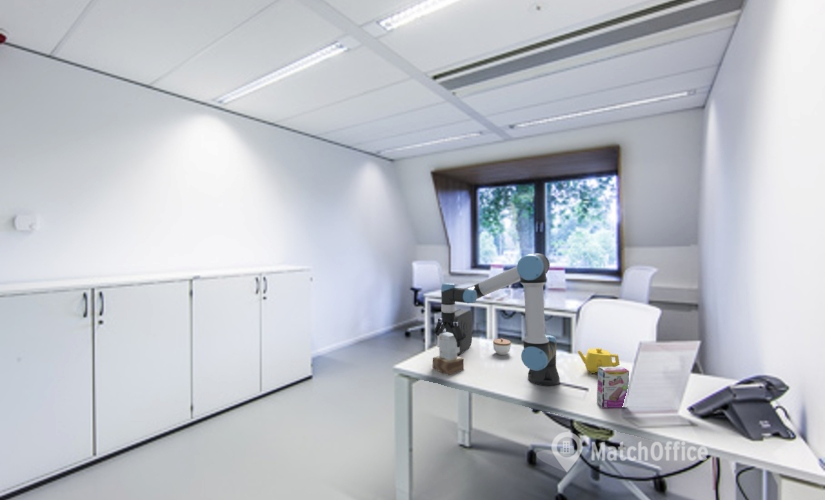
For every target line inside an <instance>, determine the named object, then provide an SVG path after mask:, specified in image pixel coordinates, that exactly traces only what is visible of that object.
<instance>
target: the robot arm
mask: <svg viewBox="0 0 825 500" xmlns="http://www.w3.org/2000/svg"><path fill="white" fill-rule="evenodd" d="M550 266H551V265H550V260H549V259H548V257H547V256H546V255H544V254H543V253H538V252H534V253H528V254H526V255H523V256H522V257H521V258H520V259H519V260H518V262H517V264H516V266H514V267H512V268H510V269H508V270H505V271H503V272H500V273H498V274H497V275H494V276H491V277H490V278H487V279H485V280H483V281H480V282H478V283H476V284H474V285H471V286H468V287H456V284H455V283H452V282H445V283H442V284H441V289H440V293H441V295H440V296H441V297H440V298H441V299H440V301H441V304H440V305H441V308H440V310H441V313H440V314H441V316H440V317H439V318H438V319H437V323H436V326H435V328H434V331H433V333H434V334H435V335H436V341H437V342H436V343H437V347H436V348H439V334H441V333H444V331H445V330H446V328H447V329H450V330H451V331H452V333H453V335H454V337H455V339H456V341H455V353H459V352H460V341H462V340H464V339H463V336H462V333H461V330H460V327H459V322H454V319H455V312H454V311H456V303H462V304H463V303H465V304H475V302H476V301H477V300H479V299H480V298H482V297H484V296H487V295H489V294H492V293H494V292H496V291H498V290H500V289H503V288H506V287H509V286H511V285H513V284H516V283H518V282H519V283H520V284H521V285H522V286H523V292H524V294H523V295H524V314H525V315H524V319H525V334H526V335H525V337H524V338H523V339H522V341H523V345H522V346H523V349H522V350H521V351H522V352H521V355H520V356H521V357H520V359H521V361H522V363H523V365H524V366H525V367H526V368H527V369H528V372H527V380H528V381H530V382H531V383H533V384H536V385H539V386H548V387H552V386H554V387H555V386H558V385H559V384H560V381H561V380H560V379H561V377H560V375H559V372H558V369H557V344H558V343H557V338H556V337H555V336H554V335H550V334H546V320H545V318H546V317H545V303H544V302H545V301H544V300H545V299H544V286H545V285H546V283H547V274H548V271H549V270H550ZM452 327H453V328H452Z"/></svg>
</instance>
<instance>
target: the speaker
mask: <svg viewBox="0 0 825 500" xmlns="http://www.w3.org/2000/svg"><path fill="white" fill-rule="evenodd" d="M454 312H455V319H454V322H459V327H460V330H461V333H462V336H463V339H464V340H462V341H460V352H459V353H457V356H460V355H462V354H463V353H465V352H466V351H468V350H469V349H470V348H471V345H472V344H473V343H472V341H473V313H472V311H471V310H469V309H468V310H466V309H465V310H463V309H457V310H456V309H455V311H454ZM452 328H453V327H452ZM445 332H449V333H452V331H451V330H450V329H447V328H445ZM452 334H453V333H452Z"/></svg>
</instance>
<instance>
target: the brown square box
mask: <svg viewBox="0 0 825 500" xmlns="http://www.w3.org/2000/svg"><path fill="white" fill-rule="evenodd" d="M464 365H465V359H464V358H463V357H461V356H459V355H457V358H456V359H453V360H447V359H444V358H441V357H439V355H438V356H434V357H432V369H433V370H435V371H438V372H440V373H443V374H445V375H449V376H450V375H452V374H455V373H458V372H461V371H463V370H464V369H465V367H464Z"/></svg>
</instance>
